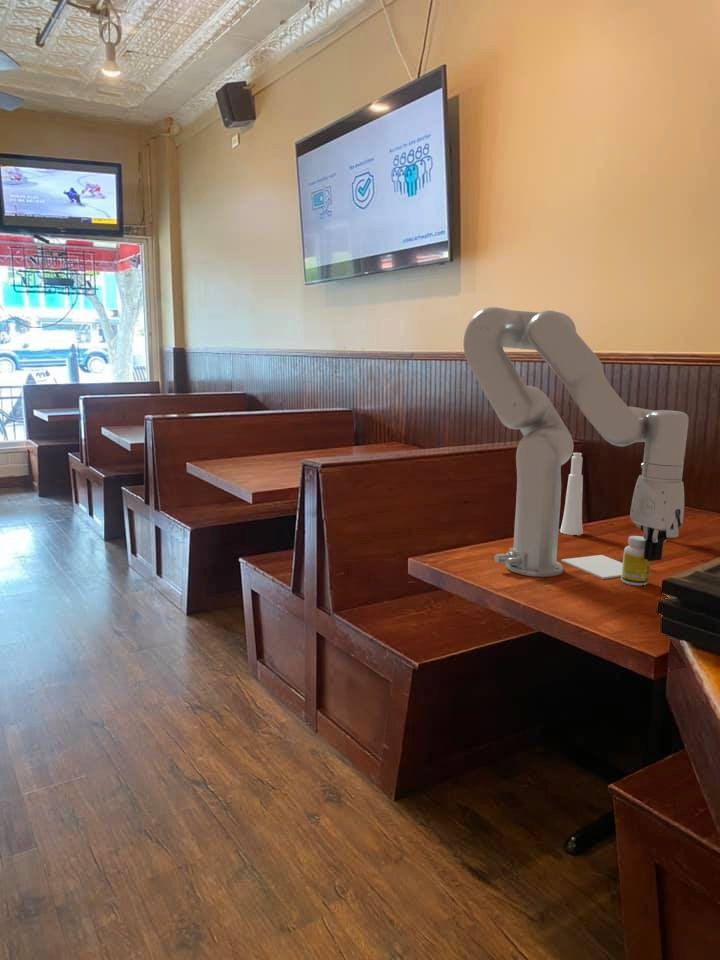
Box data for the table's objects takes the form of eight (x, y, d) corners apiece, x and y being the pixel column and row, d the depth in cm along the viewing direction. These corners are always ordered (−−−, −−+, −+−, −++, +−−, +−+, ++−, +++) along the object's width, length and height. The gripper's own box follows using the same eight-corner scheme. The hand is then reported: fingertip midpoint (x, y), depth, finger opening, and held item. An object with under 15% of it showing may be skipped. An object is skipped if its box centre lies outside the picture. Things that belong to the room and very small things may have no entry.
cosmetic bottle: (587, 535, 188) (593, 454, 184) (567, 536, 187) (573, 454, 183) (575, 529, 194) (581, 451, 190) (555, 530, 193) (561, 451, 189)
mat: (602, 579, 151) (602, 577, 151) (561, 561, 164) (561, 559, 164) (645, 573, 156) (645, 571, 156) (601, 556, 168) (601, 554, 168)
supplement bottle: (650, 587, 146) (654, 542, 144) (623, 585, 147) (627, 540, 145) (645, 579, 151) (649, 535, 150) (619, 577, 152) (622, 534, 151)
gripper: (621, 466, 146) (612, 551, 149) (677, 479, 132) (666, 572, 136) (648, 465, 149) (639, 548, 152) (706, 477, 135) (695, 568, 139)
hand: (652, 559), depth 144 cm, fingers closed
